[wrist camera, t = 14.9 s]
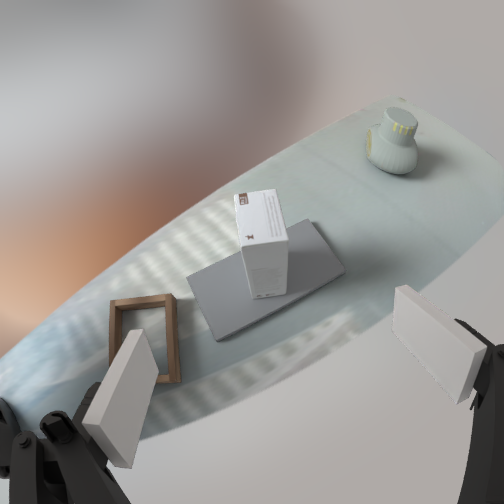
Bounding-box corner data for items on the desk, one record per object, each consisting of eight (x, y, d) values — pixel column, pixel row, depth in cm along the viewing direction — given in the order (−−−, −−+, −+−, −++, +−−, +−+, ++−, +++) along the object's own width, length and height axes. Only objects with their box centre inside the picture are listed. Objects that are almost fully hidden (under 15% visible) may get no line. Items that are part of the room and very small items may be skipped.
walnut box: (117, 383, 31) (109, 382, 29) (117, 305, 36) (110, 300, 34) (181, 382, 31) (176, 381, 29) (176, 299, 36) (171, 293, 34)
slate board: (217, 341, 33) (215, 340, 32) (188, 280, 37) (186, 277, 36) (344, 273, 36) (346, 269, 35) (307, 222, 40) (307, 218, 39)
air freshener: (411, 186, 43) (431, 143, 34) (366, 176, 44) (381, 129, 35) (403, 146, 48) (418, 105, 39) (364, 137, 49) (374, 94, 40)
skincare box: (287, 294, 34) (294, 242, 24) (250, 300, 34) (239, 250, 24) (278, 250, 37) (280, 186, 27) (243, 255, 37) (232, 192, 27)
